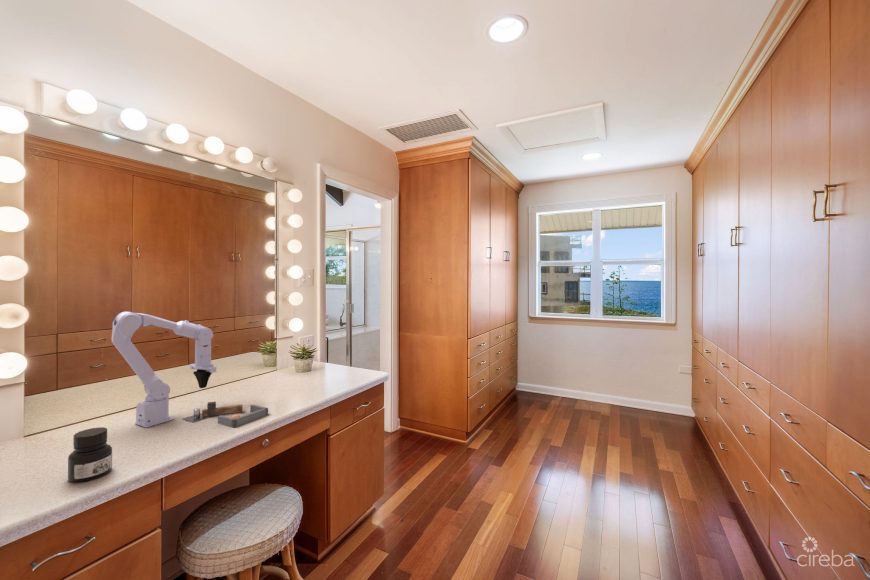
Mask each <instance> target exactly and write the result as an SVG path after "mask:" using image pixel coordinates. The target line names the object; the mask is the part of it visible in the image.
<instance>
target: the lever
mask: <svg viewBox="0 0 870 580" xmlns="http://www.w3.org/2000/svg"><path fill="white" fill-rule="evenodd" d="M243 410H244V409H243V404H237V405H228V406H221V407H217V401H208V402H207V407H206V409H205V408H204V409H202V410H201V411H202V412H201V413H202V417H203V416H211V417H212V416H216V415H217V416H218V415H223V414H229V413H230V414H231V413H237V412H239V413H243V412H244V411H243Z"/></svg>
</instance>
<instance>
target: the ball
mask: <svg viewBox="0 0 870 580" xmlns="http://www.w3.org/2000/svg"><path fill="white" fill-rule="evenodd" d="M238 417H241V415H240V414H236V413H235V414H233V415H231V417H230V418H234V419H235V418H238Z"/></svg>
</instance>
